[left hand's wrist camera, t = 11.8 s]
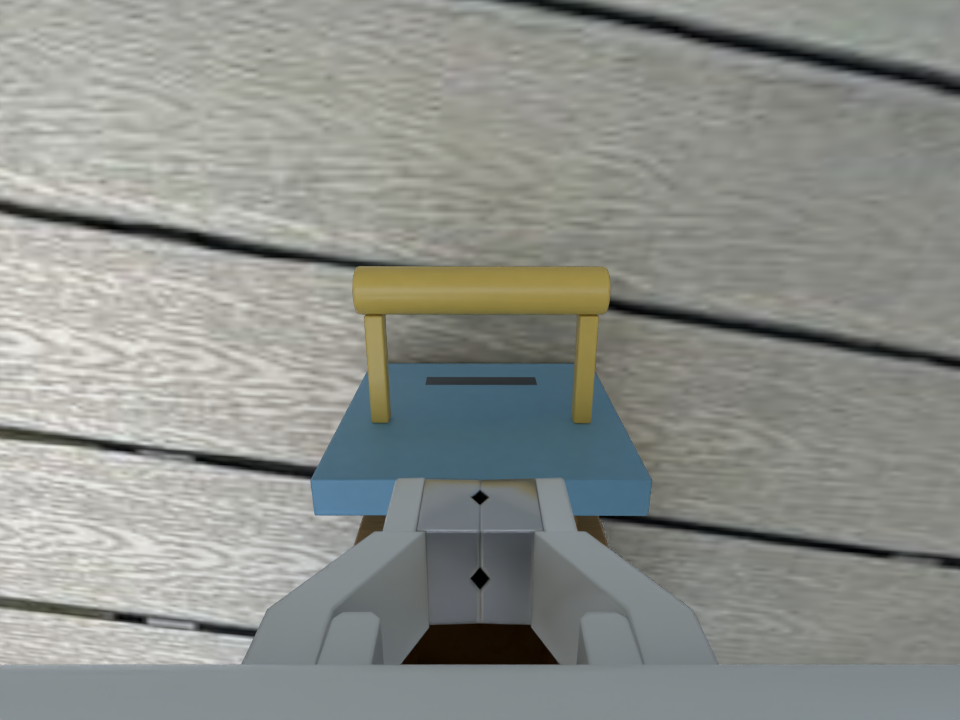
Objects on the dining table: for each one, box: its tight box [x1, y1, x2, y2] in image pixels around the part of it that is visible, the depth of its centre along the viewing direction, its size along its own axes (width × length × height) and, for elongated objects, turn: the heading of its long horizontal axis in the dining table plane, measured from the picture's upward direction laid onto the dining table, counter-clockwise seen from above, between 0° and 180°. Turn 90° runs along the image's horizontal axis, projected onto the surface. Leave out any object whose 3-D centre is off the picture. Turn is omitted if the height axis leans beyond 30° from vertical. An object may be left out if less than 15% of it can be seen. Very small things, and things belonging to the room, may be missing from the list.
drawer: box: [311, 266, 652, 665], centre depth 23 cm, size 25×10×9 cm, turn 0°
